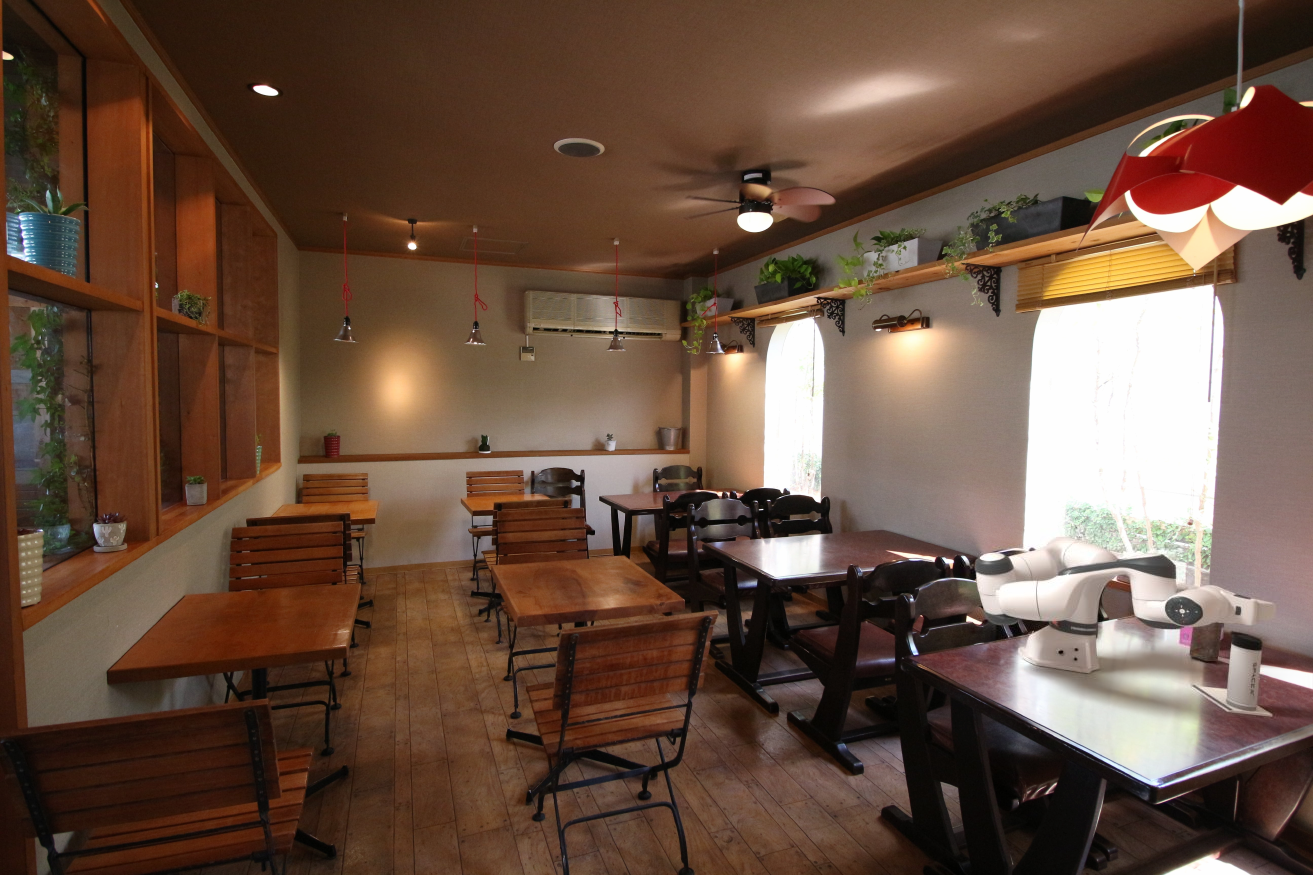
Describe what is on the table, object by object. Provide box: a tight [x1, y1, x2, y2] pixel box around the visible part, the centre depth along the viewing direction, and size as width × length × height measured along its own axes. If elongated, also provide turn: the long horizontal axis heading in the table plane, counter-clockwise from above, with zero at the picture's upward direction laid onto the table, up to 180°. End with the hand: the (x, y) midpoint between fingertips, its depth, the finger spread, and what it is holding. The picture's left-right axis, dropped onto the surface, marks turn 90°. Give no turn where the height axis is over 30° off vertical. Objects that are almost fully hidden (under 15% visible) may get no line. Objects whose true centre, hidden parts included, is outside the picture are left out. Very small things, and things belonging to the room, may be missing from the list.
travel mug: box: [1226, 630, 1263, 711], centre depth 181 cm, size 6×7×20 cm
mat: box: [1190, 684, 1273, 717], centre depth 186 cm, size 10×16×1 cm, turn 170°
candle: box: [1188, 622, 1222, 662], centre depth 218 cm, size 8×7×20 cm
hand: (1233, 597), depth 174 cm, fingers open, 8 cm apart
